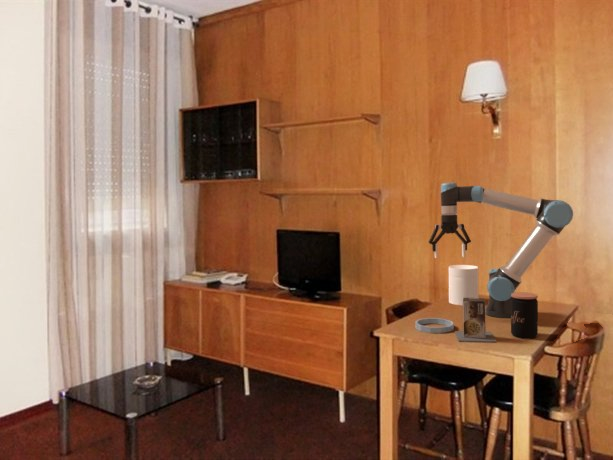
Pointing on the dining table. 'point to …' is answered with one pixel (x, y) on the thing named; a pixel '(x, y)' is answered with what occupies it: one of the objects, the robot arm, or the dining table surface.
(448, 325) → the faceted grey ring
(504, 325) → the dining table surface
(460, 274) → the canister
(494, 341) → the rubber mat
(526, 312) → the coffee jar
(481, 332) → the coffee box
